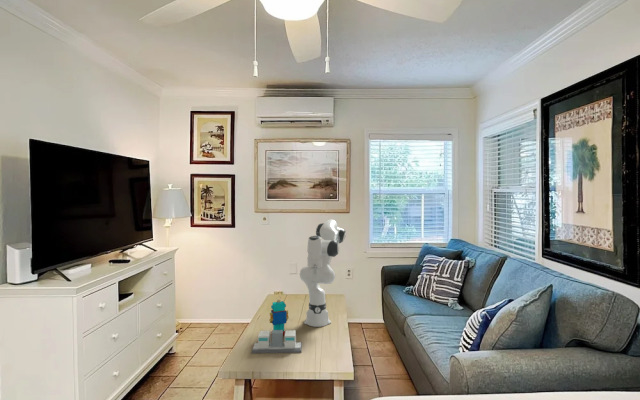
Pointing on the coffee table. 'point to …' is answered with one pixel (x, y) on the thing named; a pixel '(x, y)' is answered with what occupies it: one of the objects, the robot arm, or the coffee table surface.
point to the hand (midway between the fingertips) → (314, 286)
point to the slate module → (277, 338)
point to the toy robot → (278, 315)
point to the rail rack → (287, 347)
